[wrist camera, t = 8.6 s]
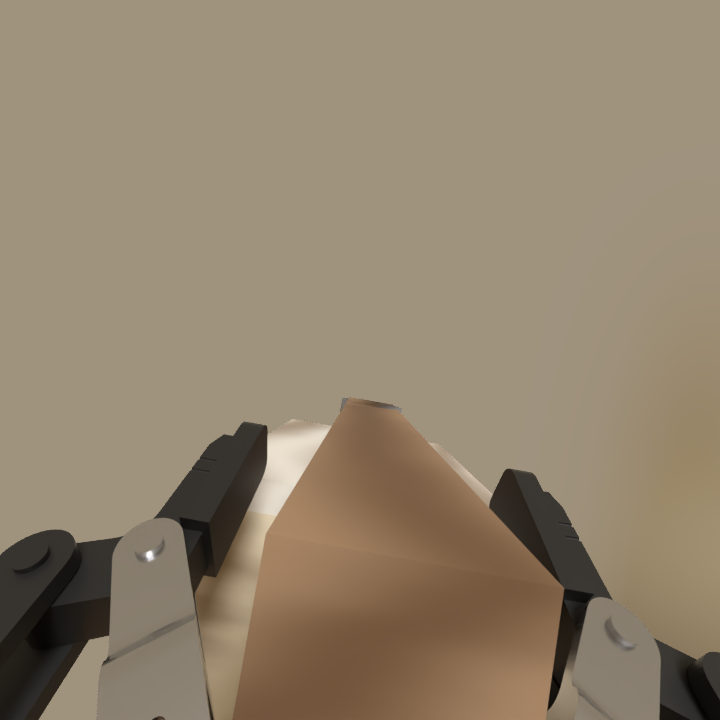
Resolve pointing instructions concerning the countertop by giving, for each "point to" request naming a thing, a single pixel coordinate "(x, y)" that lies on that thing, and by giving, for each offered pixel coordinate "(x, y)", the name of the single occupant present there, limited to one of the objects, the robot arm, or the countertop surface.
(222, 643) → the stand
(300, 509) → the tan wooden plank
